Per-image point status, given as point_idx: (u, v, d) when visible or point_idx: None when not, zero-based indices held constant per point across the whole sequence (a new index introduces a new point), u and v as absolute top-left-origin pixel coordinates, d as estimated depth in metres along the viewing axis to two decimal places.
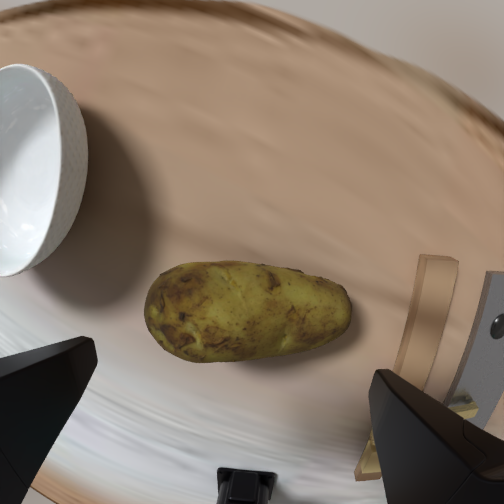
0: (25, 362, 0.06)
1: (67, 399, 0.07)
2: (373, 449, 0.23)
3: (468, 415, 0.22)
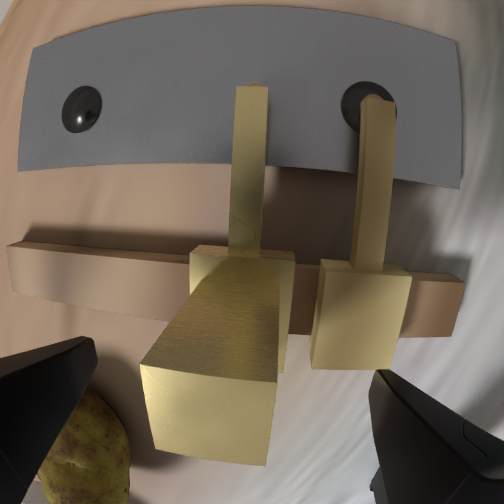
0: (25, 362, 0.06)
1: (67, 399, 0.07)
2: (311, 359, 0.13)
3: (255, 112, 0.11)
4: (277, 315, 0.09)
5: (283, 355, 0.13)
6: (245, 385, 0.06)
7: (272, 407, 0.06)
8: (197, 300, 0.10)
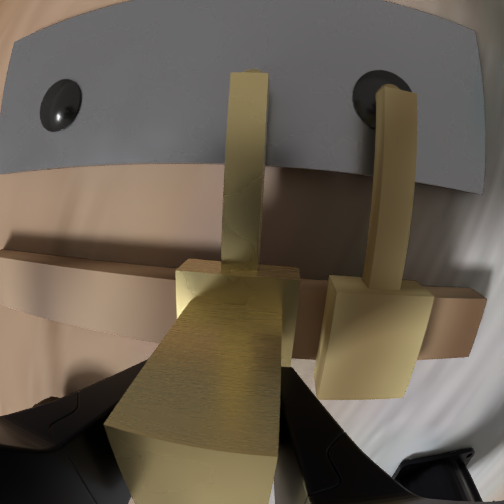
0: (115, 392, 0.06)
1: None
2: (317, 389, 0.11)
3: (252, 103, 0.09)
4: (279, 352, 0.07)
5: None
6: (235, 458, 0.04)
7: (271, 479, 0.04)
8: (182, 330, 0.08)
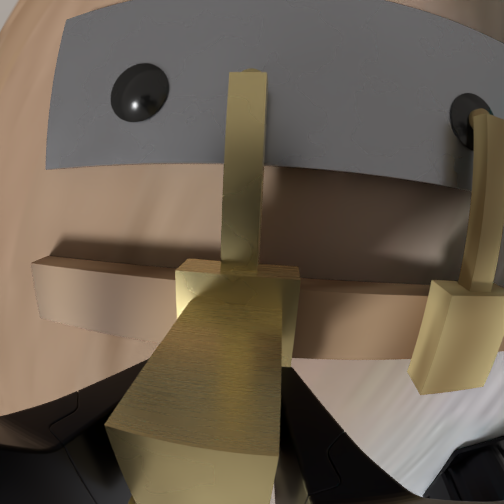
0: (115, 392, 0.06)
1: None
2: (418, 385, 0.11)
3: (251, 102, 0.09)
4: (279, 352, 0.07)
5: None
6: (237, 457, 0.04)
7: (272, 479, 0.04)
8: (182, 330, 0.08)
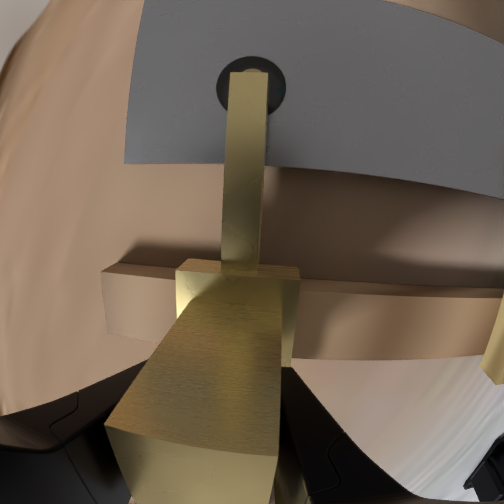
0: (115, 392, 0.06)
1: None
2: (493, 377, 0.10)
3: (252, 102, 0.09)
4: (279, 352, 0.07)
5: None
6: (236, 457, 0.04)
7: (271, 479, 0.04)
8: (182, 330, 0.08)
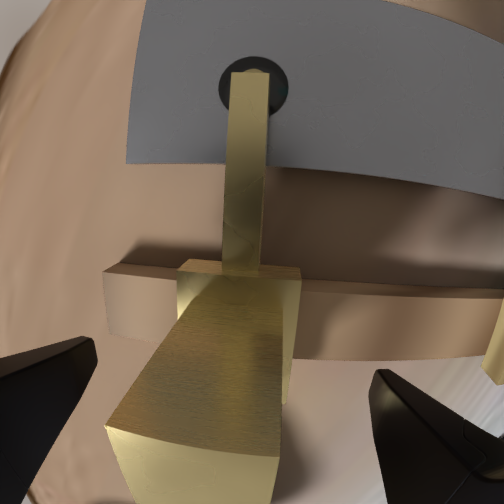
0: (25, 362, 0.06)
1: (67, 399, 0.07)
2: (494, 377, 0.10)
3: (253, 103, 0.09)
4: (280, 352, 0.07)
5: (286, 385, 0.11)
6: (238, 458, 0.04)
7: (273, 480, 0.04)
8: (183, 331, 0.08)
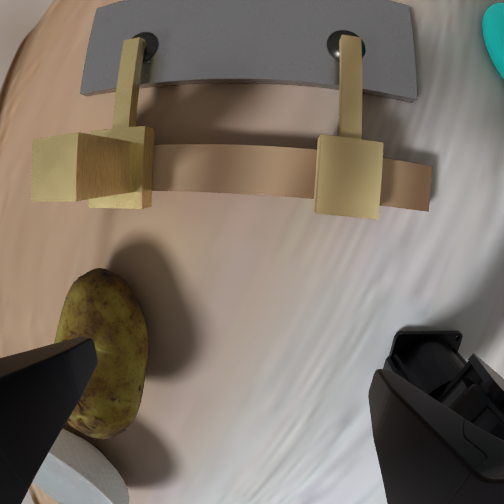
0: (25, 362, 0.06)
1: (67, 399, 0.07)
2: (316, 209, 0.17)
3: (131, 51, 0.16)
4: (114, 138, 0.14)
5: (140, 193, 0.18)
6: (67, 137, 0.11)
7: (76, 148, 0.11)
8: None
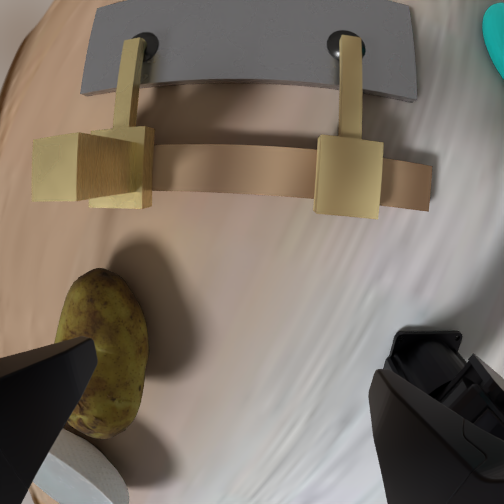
0: (25, 362, 0.06)
1: (67, 399, 0.07)
2: (316, 209, 0.17)
3: (131, 51, 0.16)
4: (114, 138, 0.14)
5: (141, 193, 0.18)
6: (67, 137, 0.11)
7: (76, 148, 0.11)
8: None
